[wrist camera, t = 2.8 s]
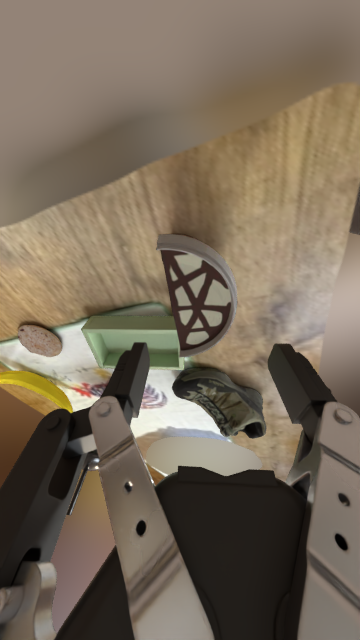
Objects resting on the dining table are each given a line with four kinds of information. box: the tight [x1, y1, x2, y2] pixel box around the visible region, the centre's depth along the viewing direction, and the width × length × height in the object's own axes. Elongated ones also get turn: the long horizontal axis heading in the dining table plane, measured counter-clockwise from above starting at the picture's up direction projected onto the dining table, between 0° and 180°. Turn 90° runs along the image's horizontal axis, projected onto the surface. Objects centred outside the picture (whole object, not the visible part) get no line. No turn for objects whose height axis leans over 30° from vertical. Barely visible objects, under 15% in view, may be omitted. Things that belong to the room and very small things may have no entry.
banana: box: [0, 371, 73, 413], centre depth 38 cm, size 3×19×6 cm, turn 50°
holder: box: [81, 316, 184, 370], centre depth 29 cm, size 15×9×4 cm, turn 92°
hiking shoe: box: [172, 368, 266, 439], centre depth 34 cm, size 8×21×9 cm, turn 64°
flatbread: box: [18, 325, 62, 357], centre depth 32 cm, size 8×8×1 cm
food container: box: [156, 234, 237, 358], centre depth 19 cm, size 12×6×10 cm, turn 8°
